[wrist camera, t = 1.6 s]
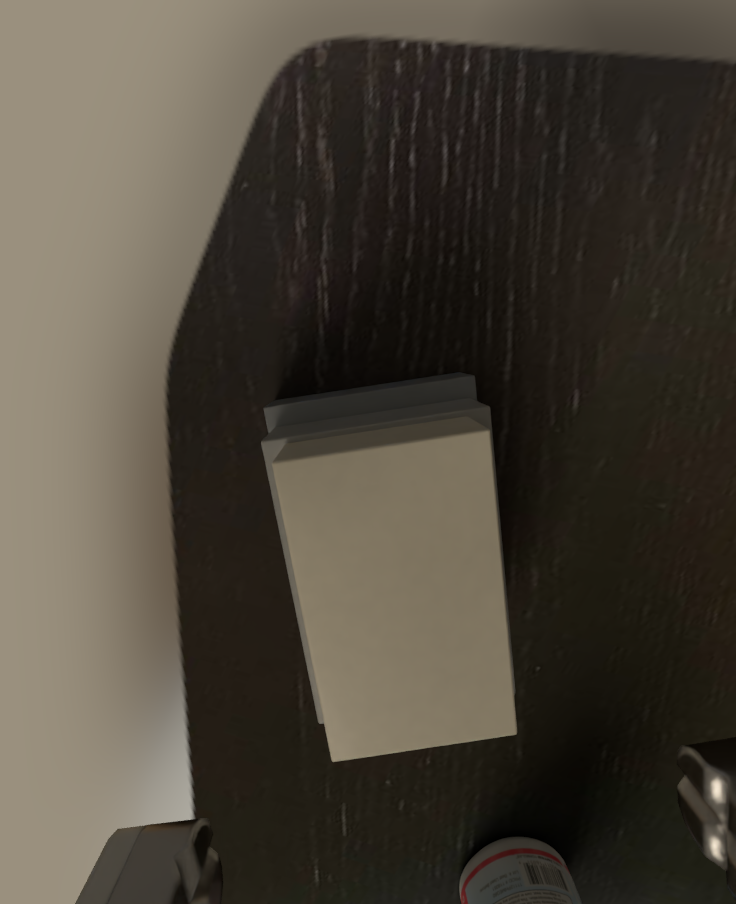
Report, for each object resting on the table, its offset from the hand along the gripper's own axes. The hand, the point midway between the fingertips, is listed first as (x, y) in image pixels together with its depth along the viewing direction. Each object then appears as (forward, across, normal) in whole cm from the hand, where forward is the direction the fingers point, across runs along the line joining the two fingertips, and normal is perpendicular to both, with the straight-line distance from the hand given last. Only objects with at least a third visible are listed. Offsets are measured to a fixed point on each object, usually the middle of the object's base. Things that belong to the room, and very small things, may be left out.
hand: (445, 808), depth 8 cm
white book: (+8, 0, 0) cm, 8 cm away
